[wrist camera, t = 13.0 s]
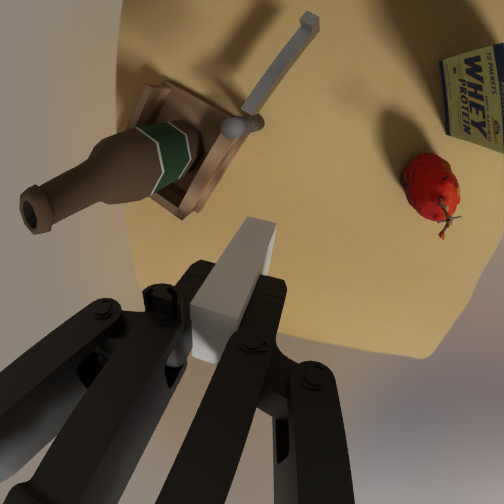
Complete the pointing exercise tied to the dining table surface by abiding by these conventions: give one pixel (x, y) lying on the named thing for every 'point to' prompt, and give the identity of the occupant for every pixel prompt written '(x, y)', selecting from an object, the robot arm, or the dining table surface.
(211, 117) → the wooden crate
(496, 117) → the protein box
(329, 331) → the dining table surface
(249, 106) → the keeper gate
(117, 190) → the beer bottle
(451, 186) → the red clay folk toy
